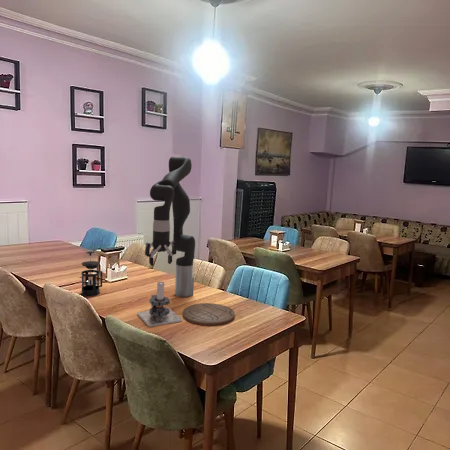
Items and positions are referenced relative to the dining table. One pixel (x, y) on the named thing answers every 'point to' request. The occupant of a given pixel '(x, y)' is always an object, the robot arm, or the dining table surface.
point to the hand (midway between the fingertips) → (160, 264)
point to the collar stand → (159, 313)
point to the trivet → (208, 314)
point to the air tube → (160, 295)
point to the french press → (90, 285)
